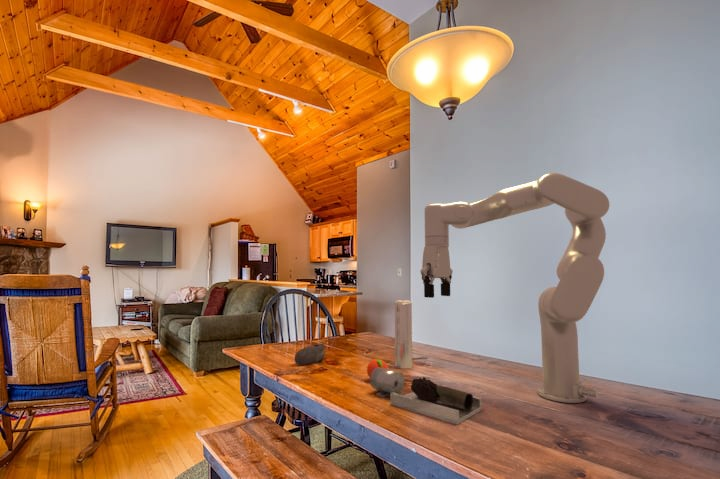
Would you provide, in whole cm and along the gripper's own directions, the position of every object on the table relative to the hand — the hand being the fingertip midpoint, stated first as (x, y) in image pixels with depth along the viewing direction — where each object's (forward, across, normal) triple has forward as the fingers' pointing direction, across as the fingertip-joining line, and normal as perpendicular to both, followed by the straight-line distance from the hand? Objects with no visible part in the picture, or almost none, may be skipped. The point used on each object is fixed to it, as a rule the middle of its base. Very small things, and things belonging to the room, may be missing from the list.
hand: (437, 296), depth 120 cm
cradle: (+28, +15, +8) cm, 33 cm away
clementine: (+28, +7, -19) cm, 35 cm away
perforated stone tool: (+28, +7, -54) cm, 62 cm away
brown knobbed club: (+28, +14, +8) cm, 32 cm away
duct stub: (+28, +15, -9) cm, 33 cm away
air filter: (+28, -14, -24) cm, 40 cm away
